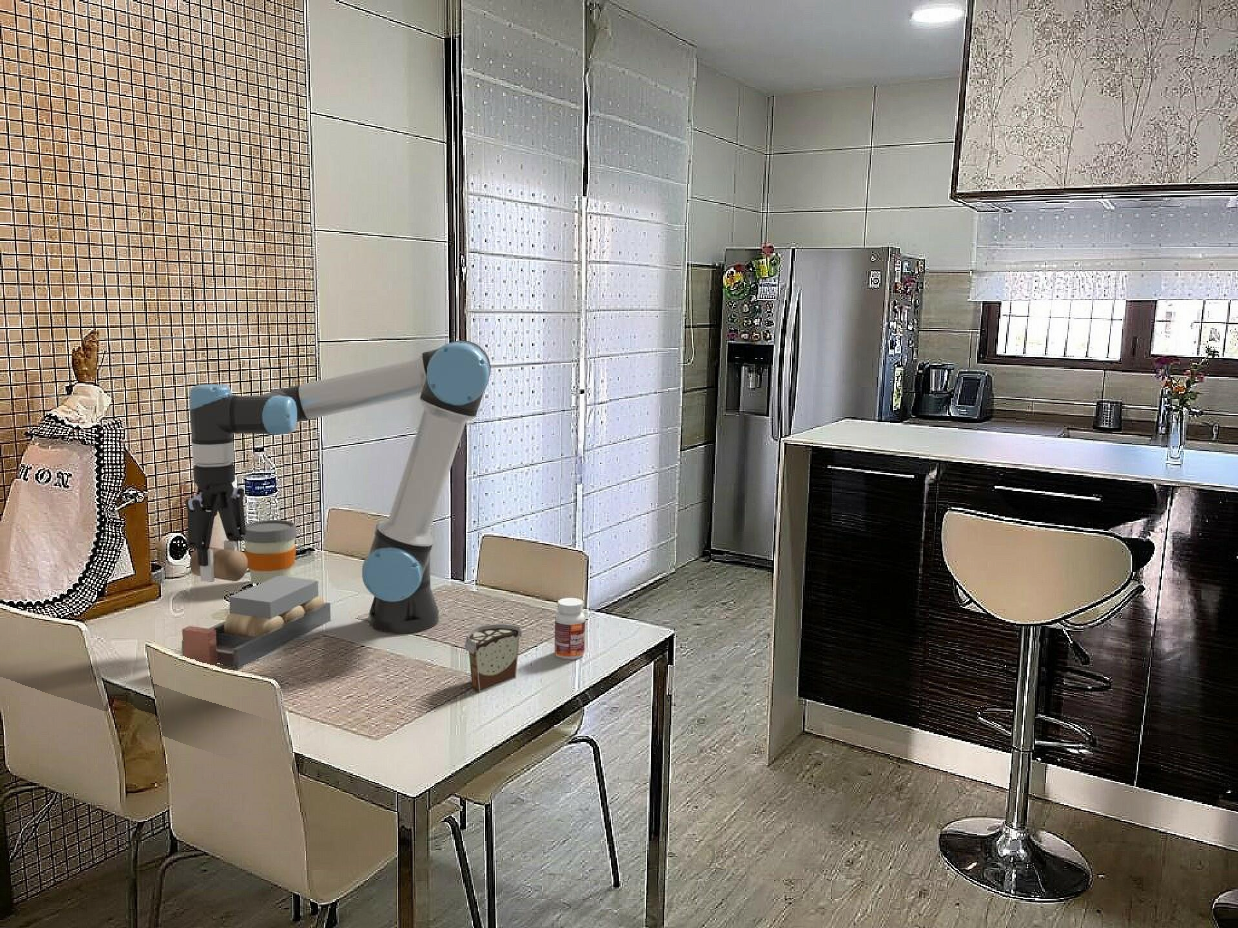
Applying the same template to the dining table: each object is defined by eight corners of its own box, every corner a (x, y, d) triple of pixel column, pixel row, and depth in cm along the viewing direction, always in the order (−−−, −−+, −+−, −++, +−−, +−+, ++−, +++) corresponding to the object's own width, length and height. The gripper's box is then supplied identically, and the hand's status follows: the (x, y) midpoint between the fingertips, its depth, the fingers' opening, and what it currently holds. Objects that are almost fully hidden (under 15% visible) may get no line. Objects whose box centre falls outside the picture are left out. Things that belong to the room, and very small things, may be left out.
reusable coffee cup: (297, 575, 239) (295, 518, 236) (299, 589, 227) (297, 530, 225) (244, 579, 234) (242, 521, 232) (244, 594, 223) (241, 533, 220)
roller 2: (285, 638, 194) (283, 611, 193) (266, 649, 188) (264, 621, 187) (244, 632, 197) (243, 605, 196) (225, 643, 191) (223, 615, 190)
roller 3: (305, 628, 200) (304, 601, 199) (288, 638, 195) (286, 610, 194) (266, 622, 203) (264, 596, 202) (248, 632, 198) (246, 605, 196)
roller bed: (330, 620, 207) (329, 585, 205) (225, 676, 175) (223, 635, 174) (280, 613, 210) (279, 578, 209) (169, 666, 179) (167, 626, 177)
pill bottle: (574, 662, 186) (575, 608, 184) (548, 656, 189) (549, 602, 187) (590, 652, 191) (591, 600, 189) (564, 647, 194) (565, 594, 192)
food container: (499, 667, 183) (499, 618, 181) (521, 675, 179) (521, 626, 177) (450, 685, 173) (450, 634, 172) (473, 695, 170) (473, 643, 168)
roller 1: (245, 581, 188) (249, 551, 189) (223, 581, 183) (228, 550, 183) (209, 575, 191) (214, 546, 192) (187, 575, 185) (192, 545, 186)
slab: (318, 596, 204) (317, 580, 203) (270, 618, 189) (270, 602, 188) (279, 590, 207) (279, 575, 206) (229, 612, 192) (229, 596, 191)
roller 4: (325, 617, 207) (323, 592, 206) (308, 627, 201) (307, 601, 200) (286, 612, 210) (285, 587, 209) (269, 621, 204) (267, 595, 203)
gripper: (232, 455, 194) (238, 562, 198) (161, 469, 176) (168, 587, 180) (262, 457, 191) (267, 566, 195) (192, 472, 173) (199, 591, 177)
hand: (219, 576), depth 187 cm, fingers closed on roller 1, 6 cm apart
